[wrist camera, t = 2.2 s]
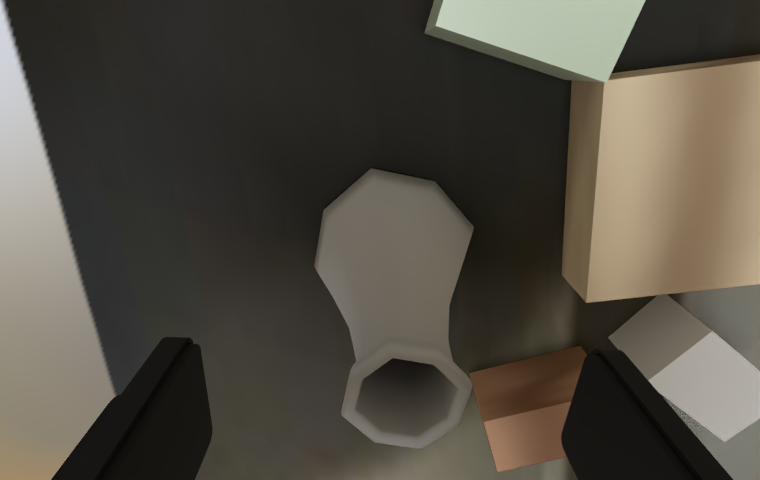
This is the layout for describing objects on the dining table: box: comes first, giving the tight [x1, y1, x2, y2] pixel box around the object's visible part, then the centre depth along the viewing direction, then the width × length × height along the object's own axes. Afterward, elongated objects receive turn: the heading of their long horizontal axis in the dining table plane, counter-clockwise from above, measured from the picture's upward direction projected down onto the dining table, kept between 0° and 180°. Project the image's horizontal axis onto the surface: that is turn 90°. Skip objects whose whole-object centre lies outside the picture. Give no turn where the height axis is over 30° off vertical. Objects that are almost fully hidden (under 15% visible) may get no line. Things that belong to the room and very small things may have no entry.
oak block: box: [561, 54, 760, 303], centre depth 17 cm, size 9×9×3 cm
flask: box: [314, 168, 474, 449], centre depth 15 cm, size 7×7×10 cm
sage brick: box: [424, 0, 645, 83], centre depth 14 cm, size 6×4×4 cm, turn 74°
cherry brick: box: [469, 346, 587, 472], centre depth 21 cm, size 6×4×4 cm, turn 107°
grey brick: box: [608, 294, 760, 442], centre depth 20 cm, size 6×4×4 cm, turn 52°
